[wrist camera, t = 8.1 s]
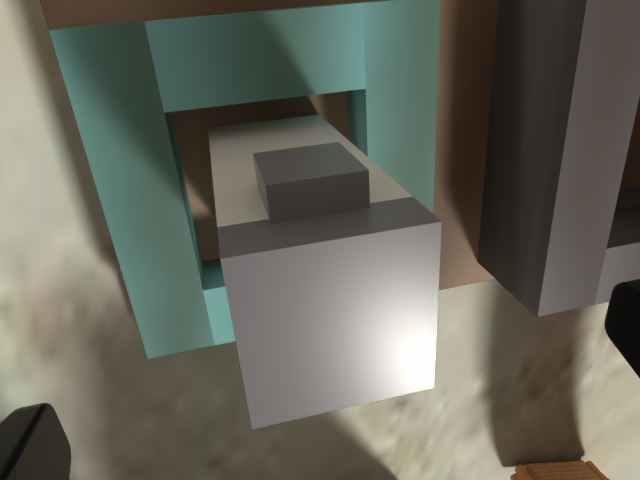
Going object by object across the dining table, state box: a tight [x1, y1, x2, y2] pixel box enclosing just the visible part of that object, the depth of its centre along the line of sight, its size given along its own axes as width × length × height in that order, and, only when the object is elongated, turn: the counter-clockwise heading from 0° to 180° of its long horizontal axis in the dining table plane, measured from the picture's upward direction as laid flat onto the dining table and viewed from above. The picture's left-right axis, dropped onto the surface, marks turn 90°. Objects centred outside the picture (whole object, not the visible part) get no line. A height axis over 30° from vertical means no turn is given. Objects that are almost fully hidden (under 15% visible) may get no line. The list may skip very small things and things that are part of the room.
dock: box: [40, 0, 640, 359], centre depth 16 cm, size 24×12×5 cm, turn 94°
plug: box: [208, 115, 442, 430], centre depth 12 cm, size 4×4×9 cm
